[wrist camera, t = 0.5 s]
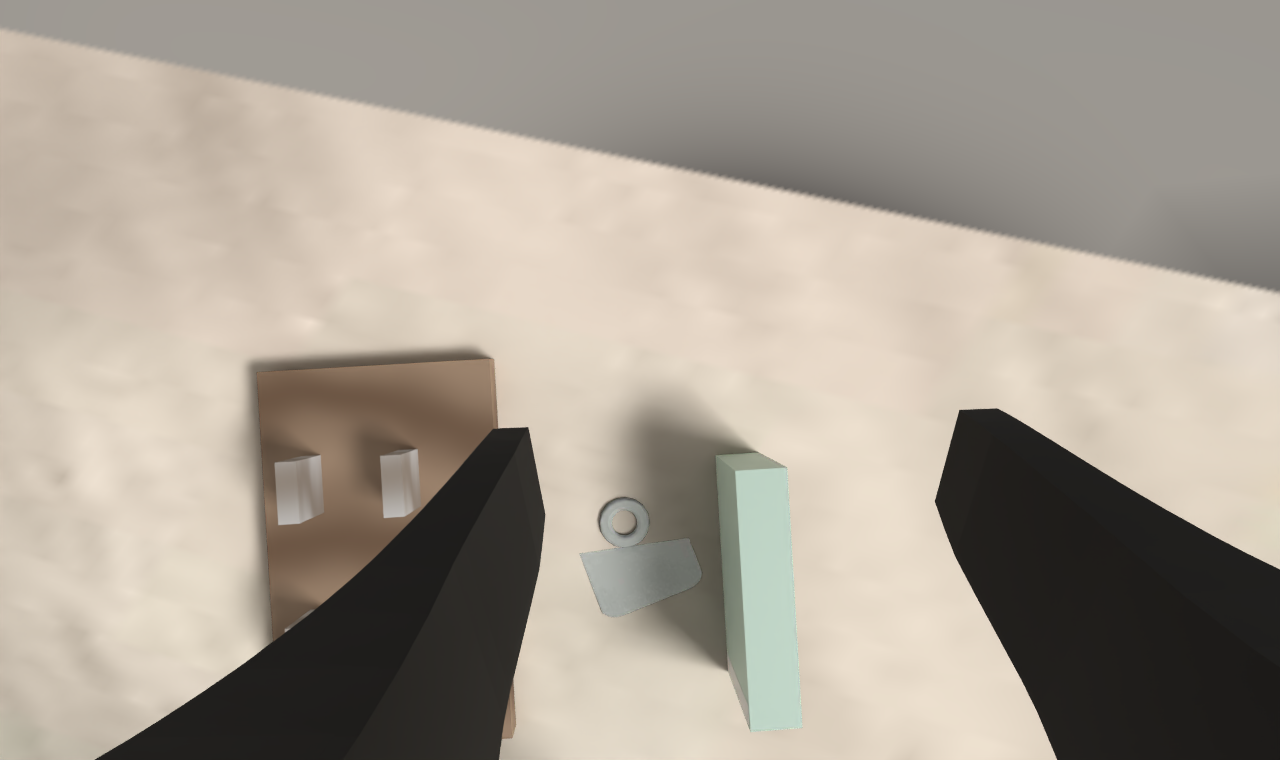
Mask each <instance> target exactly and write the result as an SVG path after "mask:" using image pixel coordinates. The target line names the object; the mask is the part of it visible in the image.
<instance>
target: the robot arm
mask: <svg viewBox="0 0 1280 760" xmlns="http://www.w3.org/2000/svg"><path fill="white" fill-rule="evenodd" d="M935 503H936V506H937V509H938V512H939V514H940V517H941V520H942V523H943V526H944V529H945V531H946V534H947V537H948V539H949V542H950V544H951V547H952V549H953V552H954V554H955V557H956V559H957V561H958V563H959V565H960V566H961V568H962V570H963V572H964V574H965V576H966V578H967V580H968V582H969V584H970V585H971V587H972V589H973V591H974V593H975V595H976V597H977V599H978V601H979V602H980V604H981V606H982V608H983V610H984V612H985V613H986V615H987V617H988V619H989V621H990V623H991V625H992V626H993V628H994V630H995V632H996V634H997V636H998V637H999V639H1000V641H1001V643H1002V645H1003V647H1004V649H1005V650H1006V652H1007V654H1008V656H1009V658H1010V660H1011V661H1012V663H1013V665H1014V667H1015V669H1016V671H1017V673H1018V674H1019V676H1020V678H1021V680H1022V682H1023V684H1024V686H1025V688H1026V690H1027V692H1028V694H1029V696H1030V698H1031V700H1032V702H1033V704H1034V706H1035V708H1036V710H1037V713H1038V715H1039V717H1040V720H1041V722H1042V724H1043V727H1044V729H1045V732H1046V734H1047V736H1048V739H1049V741H1050V743H1051V746H1052V748H1053V751H1054V753H1055V755H1056V758H1057V760H1280V569H1278V568H1276V567H1274V566H1272V565H1269V564H1267V563H1265V562H1263V561H1261V560H1259V559H1257V558H1255V557H1253V556H1251V555H1249V554H1247V553H1245V552H1243V551H1241V550H1239V549H1237V548H1235V547H1233V546H1231V545H1230V544H1228V543H1226V542H1224V541H1222V540H1220V539H1218V538H1216V537H1214V536H1212V535H1211V534H1209V533H1207V532H1205V531H1203V530H1202V529H1200V528H1198V527H1196V526H1194V525H1193V524H1191V523H1189V522H1187V521H1185V520H1184V519H1182V518H1180V517H1178V516H1176V515H1175V514H1173V513H1171V512H1169V511H1167V510H1166V509H1164V508H1162V507H1160V506H1159V505H1157V504H1155V503H1153V502H1152V501H1150V500H1148V499H1147V498H1145V497H1143V496H1141V495H1140V494H1138V493H1136V492H1135V491H1133V490H1131V489H1130V488H1128V487H1126V486H1125V485H1123V484H1121V483H1120V482H1118V481H1116V480H1115V479H1113V478H1111V477H1110V476H1108V475H1107V474H1105V473H1103V472H1102V471H1100V470H1098V469H1097V468H1095V467H1093V466H1092V465H1090V464H1089V463H1087V462H1085V461H1084V460H1082V459H1081V458H1079V457H1077V456H1076V455H1074V454H1073V453H1071V452H1069V451H1068V450H1066V449H1065V448H1063V447H1061V446H1060V445H1058V444H1057V443H1055V442H1053V441H1052V440H1050V439H1049V438H1047V437H1045V436H1044V435H1042V434H1040V433H1039V432H1037V431H1036V430H1034V429H1032V428H1031V427H1029V426H1027V425H1026V424H1024V423H1022V422H1021V421H1019V420H1017V419H1016V418H1014V417H1012V416H1010V415H1008V414H1007V413H1005V412H1003V411H1001V410H999V409H973V410H959V414H958V417H957V421H956V425H955V429H954V432H953V436H952V440H951V443H950V447H949V451H948V455H947V458H946V462H945V466H944V470H943V473H942V477H941V481H940V484H939V488H938V492H937V496H936V499H935ZM544 523H545V510H544V505H543V500H542V495H541V490H540V485H539V480H538V475H537V469H536V464H535V459H534V454H533V449H532V444H531V439H530V434H529V428H528V427H525V428H500V429H492V430H491V432H490V433H489V434H488V435H487V436H486V437H485V438H484V439H483V440H482V441H481V443H480V444H479V445H478V446H477V447H476V448H475V450H474V451H473V452H472V453H471V454H470V455H469V457H468V458H467V459H466V460H465V461H464V462H463V464H462V465H461V466H460V467H459V468H458V469H457V471H456V472H455V473H454V474H453V475H452V476H451V478H450V479H449V480H448V481H447V482H446V483H445V484H444V486H443V487H442V488H441V489H440V490H439V491H438V492H437V493H436V494H435V495H434V497H433V498H432V499H431V500H430V501H429V502H428V503H427V504H426V505H425V506H424V508H423V509H422V510H421V511H420V512H419V513H418V514H417V515H416V516H415V517H414V518H413V519H412V520H411V522H410V523H409V524H408V525H407V526H406V527H405V528H404V529H403V530H402V531H401V532H400V533H399V534H398V535H397V536H396V537H395V538H394V539H393V540H392V541H391V542H390V543H389V544H388V545H387V546H386V547H385V548H384V549H383V550H382V551H381V552H380V553H379V554H378V555H377V556H376V557H375V558H374V559H372V560H371V561H370V562H369V563H368V564H367V565H366V566H365V567H364V568H363V569H362V570H361V571H360V572H358V573H357V574H356V575H355V576H354V577H353V578H352V579H351V580H349V581H348V582H347V583H346V584H345V585H344V586H342V587H341V588H340V589H339V590H338V591H337V592H335V593H334V594H333V595H332V596H331V597H330V598H328V599H327V600H326V601H325V602H324V603H322V604H321V605H320V606H319V607H318V608H316V609H315V610H314V611H313V612H311V613H310V614H309V615H308V616H306V617H305V618H304V619H302V620H301V621H300V622H299V623H297V624H296V625H295V626H293V627H292V628H291V629H289V630H288V631H287V632H285V633H284V634H283V635H281V636H280V637H279V638H277V639H276V640H275V641H273V642H272V643H271V644H269V645H268V646H267V647H265V648H264V649H263V650H261V651H260V652H259V653H257V654H256V655H255V656H254V657H252V658H251V659H250V660H248V661H247V662H246V663H244V664H243V665H241V666H240V667H238V668H237V669H236V670H234V671H233V672H231V673H230V674H228V675H227V676H226V677H224V678H223V679H221V680H220V681H218V682H217V683H215V684H214V685H212V686H211V687H209V688H208V689H207V690H205V691H204V692H202V693H201V694H199V695H198V696H196V697H195V698H193V699H192V700H190V701H189V702H187V703H185V704H184V705H182V706H181V707H179V708H178V709H176V710H175V711H173V712H172V713H170V714H169V715H167V716H166V717H164V718H162V719H161V720H159V721H158V722H156V723H155V724H153V725H151V726H150V727H148V728H147V729H145V730H143V731H142V732H140V733H139V734H137V735H135V736H134V737H132V738H131V739H129V740H127V741H126V742H124V743H122V744H120V745H119V746H117V747H115V748H114V749H112V750H110V751H109V752H107V753H105V754H104V755H102V756H100V757H99V758H97V759H95V760H499V754H500V747H501V740H502V733H503V726H504V720H505V715H506V710H507V705H508V700H509V695H510V690H511V686H512V682H513V678H514V674H515V669H516V665H517V661H518V657H519V653H520V649H521V644H522V640H523V636H524V632H525V628H526V624H527V619H528V615H529V611H530V607H531V603H532V598H533V594H534V590H535V585H536V581H537V577H538V572H539V567H540V559H541V551H542V542H543V532H544Z"/></svg>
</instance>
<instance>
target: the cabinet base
mask: <svg viewBox="0 0 1280 760" xmlns="http://www.w3.org/2000/svg"><path fill="white" fill-rule="evenodd" d="M257 386H258V402H259V419H260V435H261V452H262V468H263V484H264V501H265V517H266V534H267V550H268V566H269V583H270V599H271V616H272V632H273V641H275V640H276V639H277V638H279V637H280V636H281V635H283V634H284V633H285V632H287V631H288V630H289V629H291V628H292V627H293V626H295V625H296V624H297V623H299V622H300V621H301V620H302V619H304V618H305V617H306V616H308V615H309V614H310V613H311V612H313V611H314V610H315V609H316V608H318V607H319V606H320V605H321V604H322V603H324V602H325V601H326V600H327V599H328V598H330V597H331V596H332V595H333V594H334V593H335V592H337V591H338V590H339V589H340V588H341V587H342V586H344V585H345V584H346V583H347V582H348V581H349V580H351V579H352V578H353V577H354V576H355V575H356V574H357V573H358V572H360V571H361V570H362V569H363V568H364V567H365V566H366V565H367V564H368V563H369V562H370V561H371V560H372V559H374V558H375V557H376V556H377V555H378V554H379V553H380V552H381V551H382V550H383V549H384V548H385V547H386V546H387V545H388V544H389V543H390V542H391V541H392V540H393V539H394V538H395V537H396V536H397V535H398V534H399V533H400V532H401V531H402V530H403V529H404V528H405V527H406V526H407V525H408V524H409V523H410V522H411V520H412V519H413V518H414V517H415V516H416V515H417V514H418V513H419V512H420V511H421V510H422V509H423V508H424V506H425V505H426V504H427V503H428V502H429V501H430V500H431V499H432V498H433V497H434V495H435V494H436V493H437V492H438V491H439V490H440V489H441V488H442V487H443V486H444V484H445V483H446V482H447V481H448V480H449V479H450V478H451V476H452V475H453V474H454V473H455V472H456V471H457V469H458V468H459V467H460V466H461V465H462V464H463V462H464V461H465V460H466V459H467V458H468V457H469V455H470V454H471V453H472V452H473V451H474V450H475V448H476V447H477V446H478V445H479V444H480V443H481V441H482V440H483V439H484V438H485V437H486V436H487V435H488V434H489V433H490V432H491V430H492V429H498V419H497V402H496V386H495V369H494V359H475V360H458V361H441V362H424V363H406V364H389V365H372V366H355V367H337V368H320V369H303V370H286V371H268V372H257ZM515 727H516V718H515V702H514V685H513V682H512V686H511V690H510V695H509V700H508V705H507V710H506V715H505V720H504V726H503V733H502V739H507V738H512V737H513V734H514V730H515Z"/></svg>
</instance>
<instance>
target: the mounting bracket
mask: <svg viewBox="0 0 1280 760" xmlns="http://www.w3.org/2000/svg"><path fill="white" fill-rule="evenodd" d="M623 510H627V511H630V512H632V513H633V514H634V515H635V517H636V518H637V527H636V529H635V530H634V531H633V532H632V533H630V534H628V535H621V534H618V533H617V532H615V530H614V529H613V527H612V519H613V517H614V515H615V514H616V513H618V512H619V511H623ZM599 524H600V530H601V533H602V534H603V536H604V537H605V539H606V540H607V541H608V542H610V543H611V544H613V545H614V546H618V547H622V548H615V549H608V550H601V551H594V552H587V553H580V556H581V559H582V562H583V564H584V567H585V569H586V572H587V574H588V577H589V580H590V582H591V585H592V587H593V590H594V592H595V595H596V598H597V600H598V603H599V605H600V608H601V611H602V613H603V614H605V615H607V616H610V617H620V616H623V615H626V614H628V613H631V612H633V611H636V610H638V609H641V608H643V607H645V606H648V605H650V604H653V603H655V602H658V601H660V600H663V599H665V598H668V597H670V596H673V595H675V594H678V593H680V592H683V591H685V590H688V589H690V588H692V587H694V586H695V585H696V584H697V583H698V582H699V580H700V579H701V576H702V571H701V568H700V566H699V563H698V560H697V558H696V555H695V553H694V550H693V548H692V545H691V542H690V540H689V538H684V539H677V540H670V541H663V542H656V543H649V544H642V545H636V544H637V543H639V542H641V541H642V540H643V538H644V537H645V536H646V534H647V533H648V529H649V524H650V521H649V515H648V512H647V510H646V509H645V507H644V506H643V504H641V503H640V502H638V501H637V500H635V499H632V498H627V497H623V498H617V499H614V500H613V501H611V502H610V503H608V504H607V505H606V506H605V508H604V509H603V511H602V512H601V516H600V520H599ZM634 545H636V546H634Z"/></svg>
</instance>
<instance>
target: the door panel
mask: <svg viewBox="0 0 1280 760" xmlns="http://www.w3.org/2000/svg"><path fill="white" fill-rule="evenodd" d="M715 457H716V474H717V491H718V508H719V524H720V541H721V558H722V575H723V592H724V609H725V626H726V643H727V663H728V672H729V675H730V678H731V681H732V683H733V686H734V689H735V691H736V694H737V697H738V699H739V702H740V705H741V707H742V710H743V713H744V715H745V718H746V721H747V724H748V726H749V729H750V732H756V731H769V730H782V729H795V728H802V713H801V695H800V678H799V661H798V644H797V627H796V610H795V593H794V576H793V559H792V542H791V525H790V507H789V490H788V473H787V467H785V466H783V465H781V464H780V463H778V462H776V461H774V460H772V459H770V458H768V457H766V456H764V455H763V454H761V453H759V452H756V453H741V454H725V455H715Z"/></svg>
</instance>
